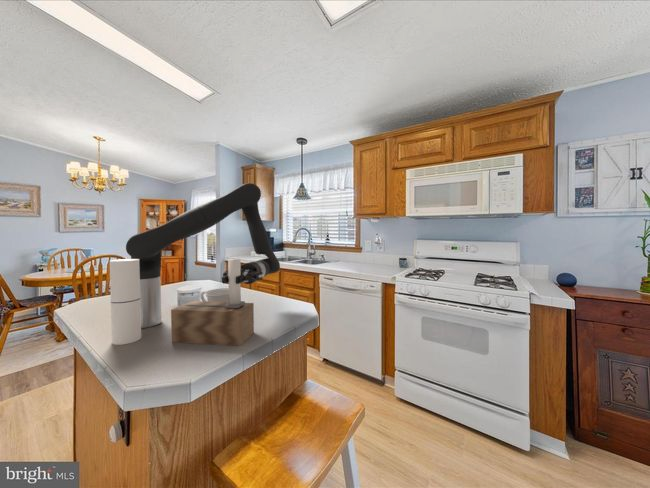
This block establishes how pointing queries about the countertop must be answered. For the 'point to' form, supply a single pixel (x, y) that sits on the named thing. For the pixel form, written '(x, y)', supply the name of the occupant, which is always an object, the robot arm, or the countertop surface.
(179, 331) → the brown rectangular block
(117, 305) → the cylindrical container
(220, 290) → the teacup
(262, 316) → the countertop surface
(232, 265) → the lever
